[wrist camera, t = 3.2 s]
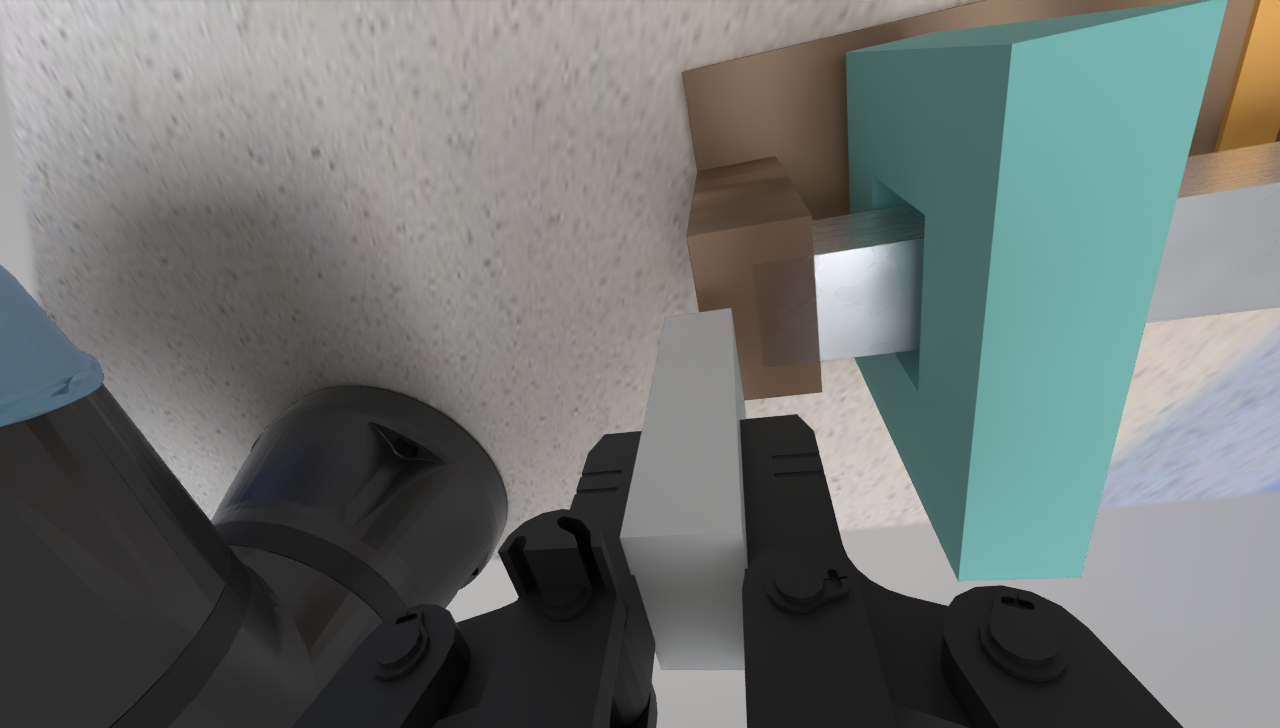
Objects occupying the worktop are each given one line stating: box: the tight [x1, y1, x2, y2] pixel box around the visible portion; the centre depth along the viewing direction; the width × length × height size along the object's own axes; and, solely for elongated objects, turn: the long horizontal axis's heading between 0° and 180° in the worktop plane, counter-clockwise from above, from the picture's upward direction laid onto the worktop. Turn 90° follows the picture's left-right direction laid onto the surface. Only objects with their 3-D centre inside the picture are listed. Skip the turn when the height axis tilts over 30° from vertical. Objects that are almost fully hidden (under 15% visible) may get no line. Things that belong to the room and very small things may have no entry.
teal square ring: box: [846, 0, 1228, 581], centre depth 14 cm, size 2×11×11 cm, turn 12°
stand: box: [682, 0, 1280, 400], centre depth 16 cm, size 25×12×10 cm, turn 102°
